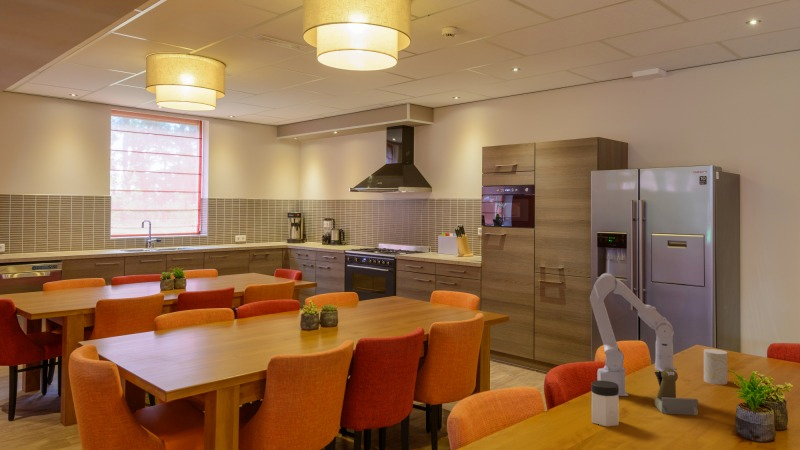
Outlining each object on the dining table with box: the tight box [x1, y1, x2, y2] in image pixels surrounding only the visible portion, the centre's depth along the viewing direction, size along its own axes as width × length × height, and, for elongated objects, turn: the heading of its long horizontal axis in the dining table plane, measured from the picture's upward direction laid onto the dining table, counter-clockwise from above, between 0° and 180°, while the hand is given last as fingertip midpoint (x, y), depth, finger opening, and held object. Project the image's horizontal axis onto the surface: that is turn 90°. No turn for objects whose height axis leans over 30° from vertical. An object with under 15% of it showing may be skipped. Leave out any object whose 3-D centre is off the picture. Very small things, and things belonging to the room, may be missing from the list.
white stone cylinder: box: [703, 348, 728, 386], centre depth 217 cm, size 8×8×12 cm
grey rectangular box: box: [654, 397, 699, 416], centre depth 184 cm, size 11×8×5 cm
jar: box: [590, 380, 620, 427], centre depth 173 cm, size 9×8×12 cm
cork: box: [656, 369, 679, 401], centre depth 192 cm, size 6×6×11 cm
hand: (664, 392), depth 196 cm, fingers closed, pressing on cork
